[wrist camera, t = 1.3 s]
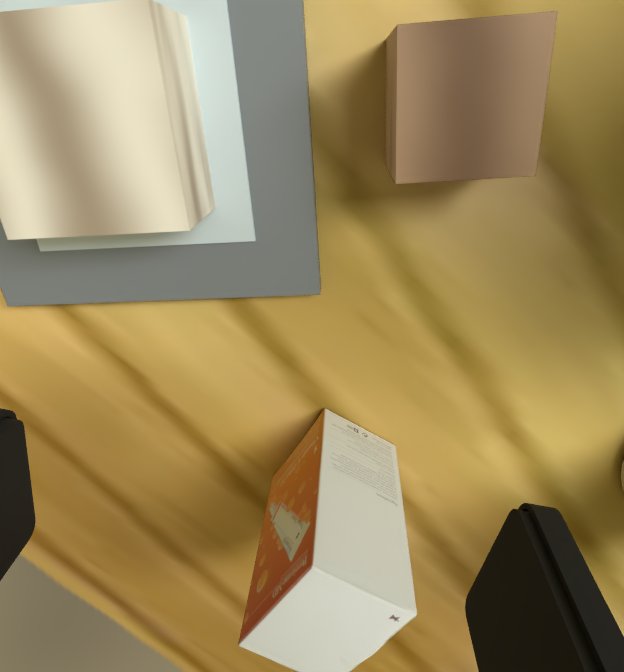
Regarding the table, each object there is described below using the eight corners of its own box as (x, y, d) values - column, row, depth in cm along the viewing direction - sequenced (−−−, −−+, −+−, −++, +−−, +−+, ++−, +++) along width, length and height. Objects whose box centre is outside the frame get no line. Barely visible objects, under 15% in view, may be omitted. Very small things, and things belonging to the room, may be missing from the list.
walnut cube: (509, 29, 24) (557, 10, 18) (496, 158, 26) (535, 175, 21) (385, 39, 24) (397, 24, 19) (385, 165, 27) (395, 184, 21)
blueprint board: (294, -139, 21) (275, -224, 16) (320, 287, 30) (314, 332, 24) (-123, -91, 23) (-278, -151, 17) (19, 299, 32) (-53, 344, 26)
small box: (324, 404, 34) (312, 566, 23) (397, 444, 35) (422, 617, 24) (269, 476, 38) (234, 648, 26) (338, 511, 39) (334, 690, 27)
